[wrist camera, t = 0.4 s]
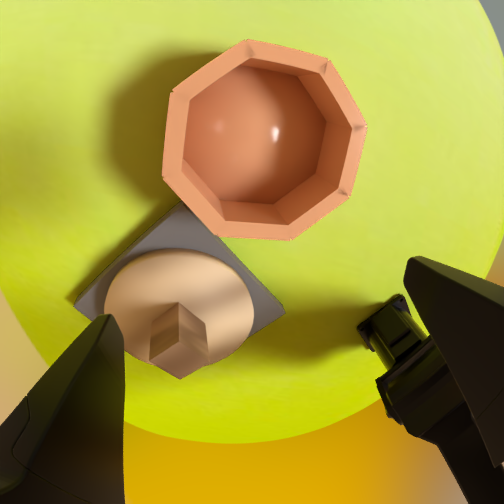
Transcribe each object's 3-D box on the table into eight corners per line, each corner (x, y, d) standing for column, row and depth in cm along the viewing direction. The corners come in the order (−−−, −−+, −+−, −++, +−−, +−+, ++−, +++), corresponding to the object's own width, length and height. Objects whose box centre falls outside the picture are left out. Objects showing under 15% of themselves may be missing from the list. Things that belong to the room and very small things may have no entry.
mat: (281, 304, 26) (285, 312, 25) (178, 369, 28) (179, 378, 27) (183, 199, 20) (182, 205, 19) (77, 297, 22) (73, 306, 21)
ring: (353, 153, 20) (387, 169, 16) (237, 238, 22) (248, 271, 18) (273, 28, 15) (296, 12, 11) (137, 125, 16) (121, 133, 13)
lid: (277, 313, 25) (295, 357, 21) (179, 374, 27) (181, 418, 22) (182, 215, 19) (180, 254, 15) (80, 307, 21) (64, 353, 16)
